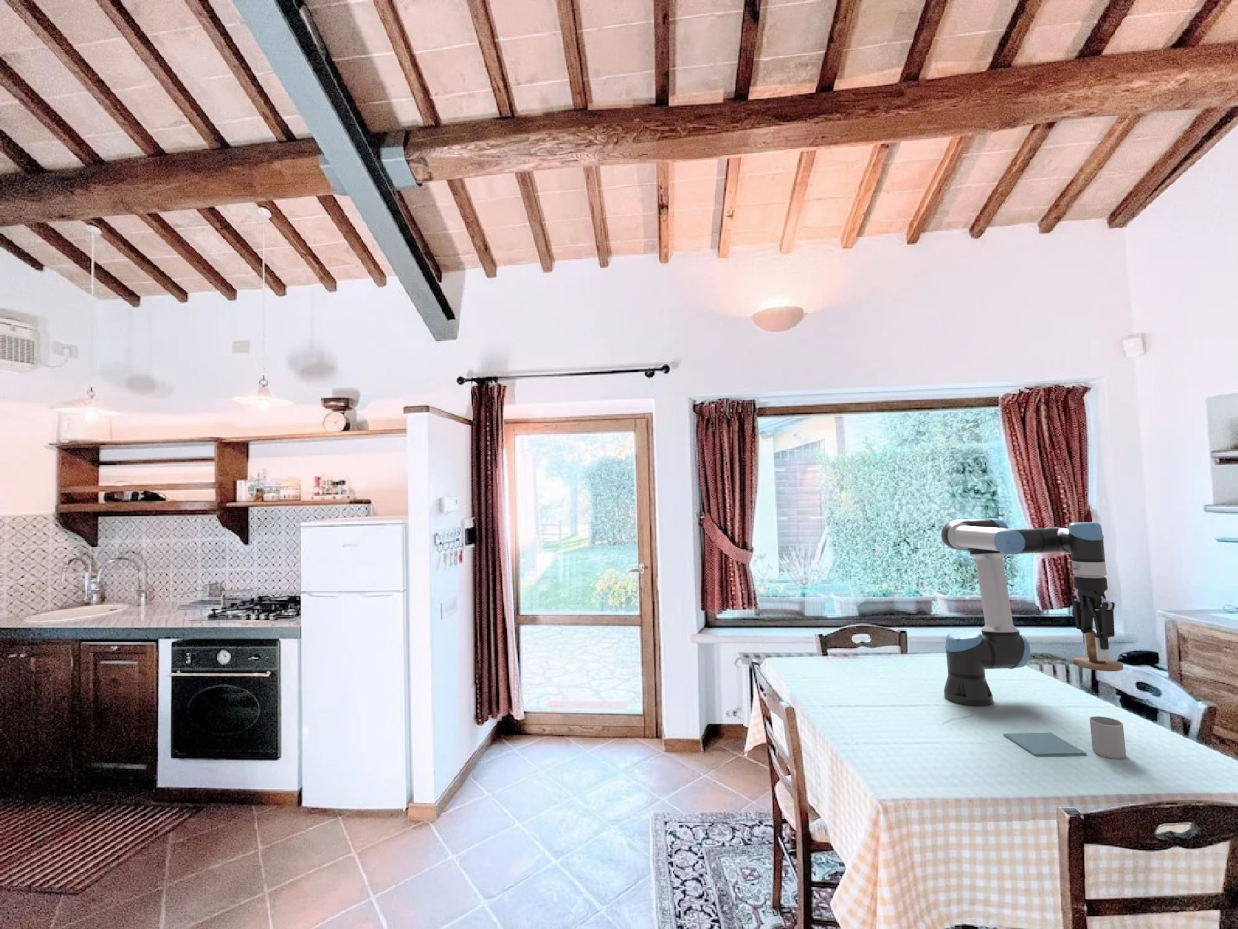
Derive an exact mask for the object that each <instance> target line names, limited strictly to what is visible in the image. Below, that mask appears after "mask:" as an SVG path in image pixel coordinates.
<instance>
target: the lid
mask: <svg viewBox="0 0 1238 929" xmlns="http://www.w3.org/2000/svg"><path fill="white" fill-rule="evenodd" d="M1095 636H1097V632H1096V631H1095V632H1087V642H1088V653H1089V657H1087V656H1075V657H1073V658H1072V661H1073V664H1074V665H1075V666H1077V667H1080V668H1083V669H1089V670H1093V671H1100V672H1120V671H1123V670H1124V664H1123V663H1122V662H1120V661H1117V660H1114V659H1110V658H1109V661H1098V660H1097V653H1096V642H1095Z"/></svg>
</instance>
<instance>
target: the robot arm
mask: <svg viewBox="0 0 1238 929" xmlns="http://www.w3.org/2000/svg"><path fill="white" fill-rule="evenodd" d="M940 538H941V540H942V542H943V543H944V545H946V546H947V547H948V548H951V549H952V550H956V551H969V556H971V557H972V558H973V559H974V560H975V565H976V570H977V571H976V573H977V578H978V585H979V591H980V598H981V604H982V612H983V619H984V625H983V627H982V628H981V632H978V631H975V630H957V631H954V632H950V633H948V634H947V635H946V637H945V645H944V646H945V647H944V648H945V652H946V653H945V654H946V665H947V677H946V682H945V685H944V688H943V696H944V698H945V699H947V700H949V701H951V702H953V703H957V704H961V705H967V706H975V707H976V706H978V707H981V706H990V705H992V704H993V703H994V697H993V694H992V691H991V688H990V686H989V684H988V682H987V678H986V671H985V670H995V669H1000V670H1001V669H1010V670H1014V669H1019V668H1024V667H1025V666H1027V664H1028V663H1029V661H1030V660H1031V646H1030V643H1029V642H1028V639H1027V638H1026V637H1025V636H1024V635H1023V634H1020V630H1019V629H1018V628H1017V627H1016V626H1015V625H1014V620H1013V615H1012V609H1011V604H1010V597H1009V591H1008V584H1007V578H1006V571H1005V565H1004V557H1005V556H1006V555H1019V554H1020V555H1021V554H1022V555H1023V554H1045V553H1046V554H1049V553H1050V554H1051V553H1063V554H1064V553H1065V554H1070V555H1071V556H1070V557H1071V564H1072V574H1073V577H1072V579H1073V588H1074V589H1076V590H1078V591H1077V594H1071V595H1070V600H1071V602H1072V607H1073V614H1074V621H1075V628H1076V629H1077V630H1080V632H1081V633H1082V640H1083V644H1084V653H1085V654H1084V656H1085V657H1089V653H1088V642H1087V632H1097V636H1095V642H1096V653H1097V660H1098V661H1109V659H1110V656H1109V655H1110V654H1109V650H1110V646H1109V638H1113V637H1115V635H1116V633H1115V616H1114V611H1115V607H1116V604H1115V602H1114V601H1109V600H1107V596H1106V594H1105V592H1106V591H1108V588H1109V587H1108V579H1107V577H1106V576H1107V573H1108V572H1107V566H1106V558H1105V556H1106V555H1105V545H1104V544H1105V543H1104V535H1103V529H1102V525H1101V524H1100V523H1099V522H1095V521H1094V522H1093V521H1091V522H1087V521H1082V522H1080V521H1079V522H1078V521H1076V522H1069V524H1068V528H1067V527H1059V526H1047V527H1042V528H1009V526H1008V524H1006V522H1004V521H1003V520H1002V519H998V518H992V517H991V518H990V517H988V518H987V517H984V518H967V519H966V518H962V519H954V520H951V521H949V522H947V523H946V524H945V525H944V526H943V527H942V529H941V533H940ZM1094 626H1095V627H1094ZM1093 628H1095V630H1094V629H1093Z"/></svg>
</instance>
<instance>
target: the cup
mask: <svg viewBox="0 0 1238 929" xmlns="http://www.w3.org/2000/svg"><path fill="white" fill-rule="evenodd" d="M1089 726H1090V728H1089V729H1090V738H1091V747H1092V751H1093V752H1094V753H1095V754H1096V755H1097V756H1100V757H1104V758H1108V759H1113V760H1123V759H1125V758H1126V756H1127V751H1126V742H1125V732H1124V723H1123V722H1122V721H1120V720H1119V719H1115V718H1111V717H1108V716H1098V715H1097V716H1095V715H1094V716H1090V717H1089Z"/></svg>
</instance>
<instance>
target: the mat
mask: <svg viewBox="0 0 1238 929" xmlns="http://www.w3.org/2000/svg"><path fill="white" fill-rule="evenodd" d="M1003 736H1004V737H1005V738H1007V739H1009V740H1010V741H1011V742H1013V743H1014V744H1016V745H1017V746H1019V747H1021V748H1022V749H1024V750H1025V751H1027V752H1028V753H1029V754H1030V755H1032V756H1034V757H1046V756H1047V757H1048V756H1052V757H1054V756H1055V757H1056V756H1060V757H1061V756H1087V752H1086V751H1084V750H1082V749H1080V748H1078V747H1077V746H1074V745H1073V744H1072V743H1070V742H1068V741H1066V740H1065V739H1063V738H1061V737H1059V736H1057V735H1056V734H1054V733H1052V732H1017V733H1016V732H1012V733H1011V732H1009V733H1007V732H1006V733H1003Z"/></svg>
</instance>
